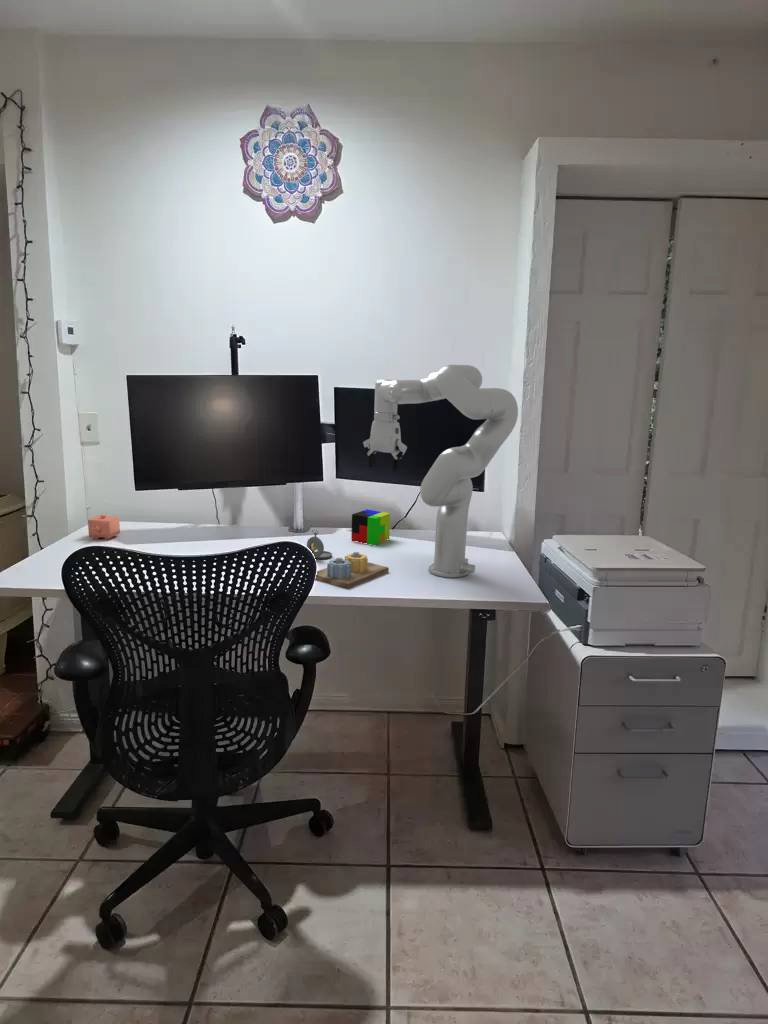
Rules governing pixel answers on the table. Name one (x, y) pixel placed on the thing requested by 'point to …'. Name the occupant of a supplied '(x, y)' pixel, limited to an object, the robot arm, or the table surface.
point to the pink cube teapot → (103, 526)
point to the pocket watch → (317, 547)
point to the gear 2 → (357, 562)
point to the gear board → (353, 574)
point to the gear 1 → (339, 569)
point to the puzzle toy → (370, 527)
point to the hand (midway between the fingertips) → (383, 468)
